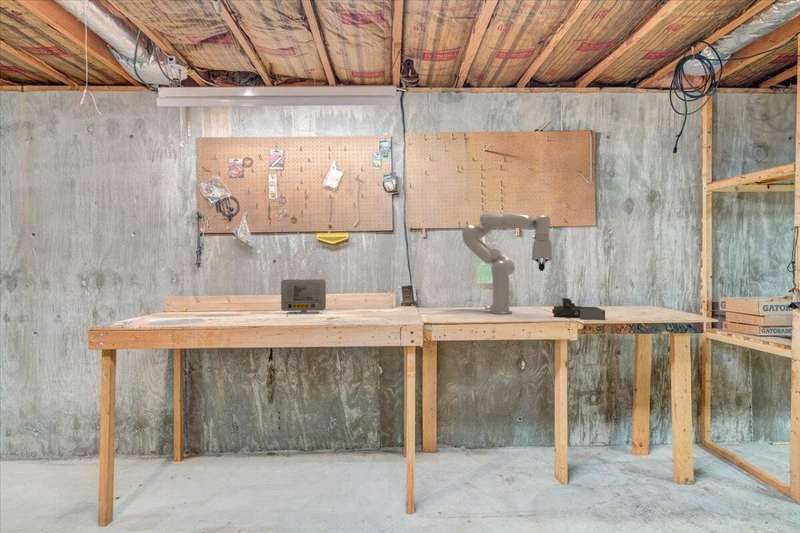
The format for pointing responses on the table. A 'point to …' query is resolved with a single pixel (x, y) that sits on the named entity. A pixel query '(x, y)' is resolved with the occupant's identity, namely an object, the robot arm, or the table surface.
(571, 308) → the laser sight
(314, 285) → the network device
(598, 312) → the dock
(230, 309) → the table surface
